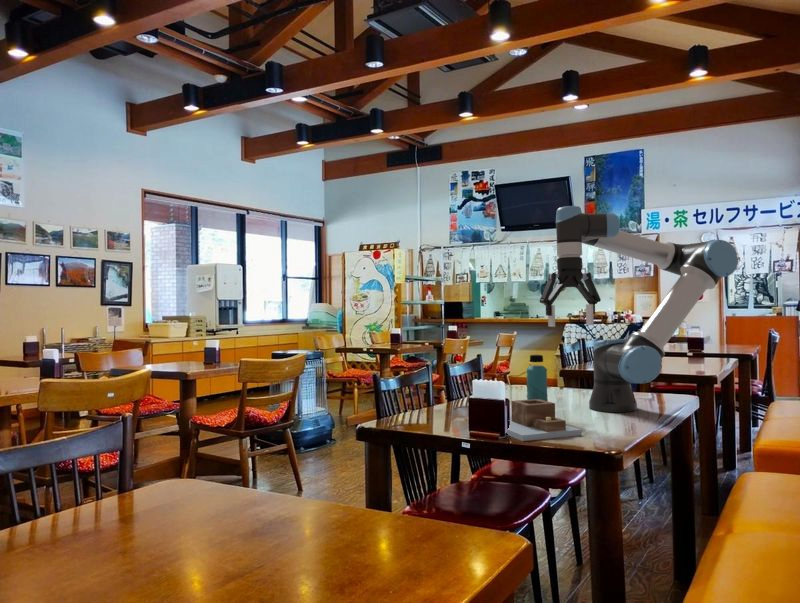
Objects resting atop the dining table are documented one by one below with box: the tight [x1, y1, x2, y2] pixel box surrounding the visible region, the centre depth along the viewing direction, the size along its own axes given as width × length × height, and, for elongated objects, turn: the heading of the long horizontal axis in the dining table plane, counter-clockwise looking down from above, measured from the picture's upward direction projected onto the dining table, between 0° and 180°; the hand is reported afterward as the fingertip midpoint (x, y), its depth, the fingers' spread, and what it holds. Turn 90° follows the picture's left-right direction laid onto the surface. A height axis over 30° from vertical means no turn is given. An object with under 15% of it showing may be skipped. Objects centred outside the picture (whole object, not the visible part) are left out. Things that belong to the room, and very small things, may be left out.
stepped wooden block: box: [510, 399, 567, 432], centre depth 173 cm, size 16×9×6 cm, turn 18°
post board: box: [507, 417, 582, 442], centre depth 172 cm, size 18×19×6 cm
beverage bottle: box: [525, 354, 549, 402], centre depth 190 cm, size 6×7×20 cm
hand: (571, 326), depth 189 cm, fingers open, 13 cm apart
